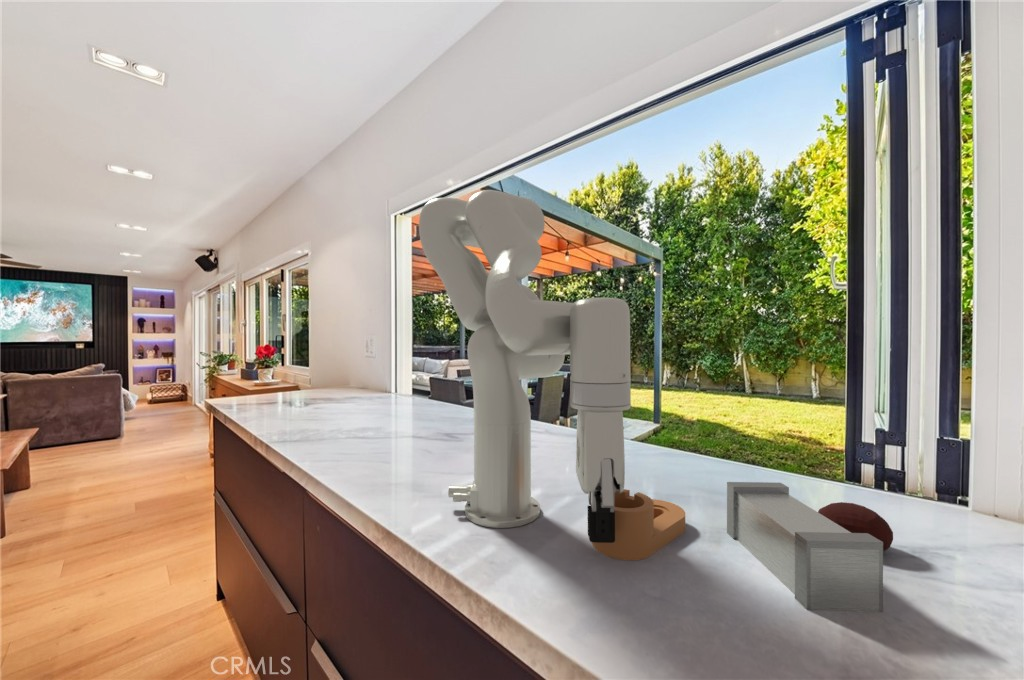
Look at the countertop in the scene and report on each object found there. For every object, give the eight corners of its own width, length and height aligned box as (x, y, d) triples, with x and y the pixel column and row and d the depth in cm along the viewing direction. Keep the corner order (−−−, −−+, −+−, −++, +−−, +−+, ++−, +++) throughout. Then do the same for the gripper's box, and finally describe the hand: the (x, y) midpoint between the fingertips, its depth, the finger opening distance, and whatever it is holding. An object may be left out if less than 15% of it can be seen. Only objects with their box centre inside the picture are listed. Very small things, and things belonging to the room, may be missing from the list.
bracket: (633, 572, 53) (633, 517, 52) (580, 547, 59) (580, 499, 59) (694, 527, 65) (694, 483, 65) (645, 511, 71) (645, 470, 71)
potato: (822, 528, 64) (822, 489, 64) (895, 549, 58) (896, 506, 58) (810, 545, 59) (811, 502, 59) (889, 569, 53) (889, 521, 53)
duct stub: (806, 613, 44) (806, 540, 44) (726, 533, 62) (726, 481, 62) (882, 615, 44) (883, 542, 44) (780, 534, 62) (780, 482, 62)
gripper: (566, 388, 61) (567, 514, 61) (576, 404, 46) (577, 571, 46) (618, 388, 60) (619, 515, 60) (645, 404, 45) (647, 573, 45)
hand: (601, 539), depth 53 cm, fingers closed
